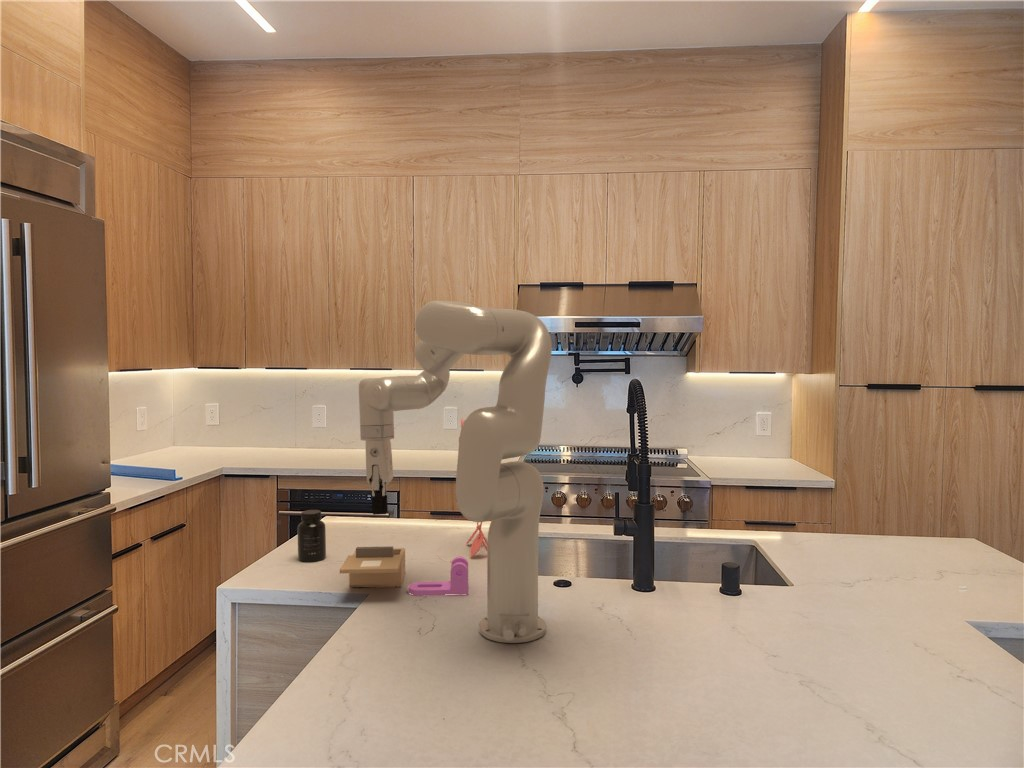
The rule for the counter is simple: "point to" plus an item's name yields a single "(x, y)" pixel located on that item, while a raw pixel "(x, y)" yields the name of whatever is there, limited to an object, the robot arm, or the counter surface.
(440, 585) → the bracket
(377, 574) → the mailer box
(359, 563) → the mailer lid
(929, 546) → the counter surface
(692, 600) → the counter surface
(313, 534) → the supplement bottle
